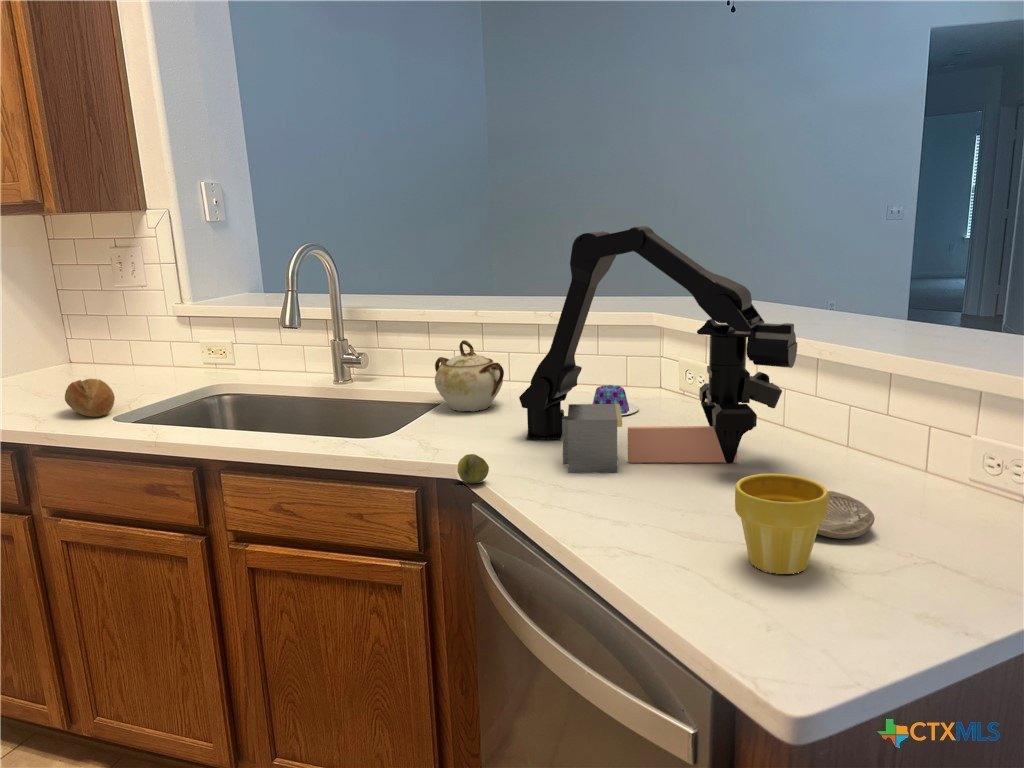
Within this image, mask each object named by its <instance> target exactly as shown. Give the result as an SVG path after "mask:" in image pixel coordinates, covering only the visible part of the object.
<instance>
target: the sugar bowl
mask: <svg viewBox="0 0 1024 768" xmlns="http://www.w3.org/2000/svg"><path fill="white" fill-rule="evenodd" d="M464 346H467V347H468V348H469V351H468V352H465V350H464ZM459 351H460V352H459V353H460V354H459V355H457V356H454V357H452V358H450V359H449V358H446V357H443V356H442V357H441V356H440V357H438V358H436V360H435V363H434V368H435V372H436V373H435V376H434V384H435V385H434V386H435V388H436V390H437V391H438V393H439V395H440V396H441V397H442V399H443V400H444V401H445V402H446V403H447V405H448V406H449V407H450V409H451V408H452V409H453V411H455V410H457V411H456V412H461V411H471V412H479V410H480V411H483V410H487V409H488V407H489V408H490V407H491V405H492V403H493V401H494V400H495V398H496V397H497V395H498V393H499V392H500V390H501V388H502V386H503V382H504V376H505V371H504V368H503V366H502V364H501V363H499V362H494V360H493V359H492V358H489V357H486V356H483V355H480V354H477V353H476V352H474V351H475V350H474V347H473V345H472V344H471V343H470V342H469V341H468V340H461V342H460V343H459ZM452 409H451V410H452Z"/></svg>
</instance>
